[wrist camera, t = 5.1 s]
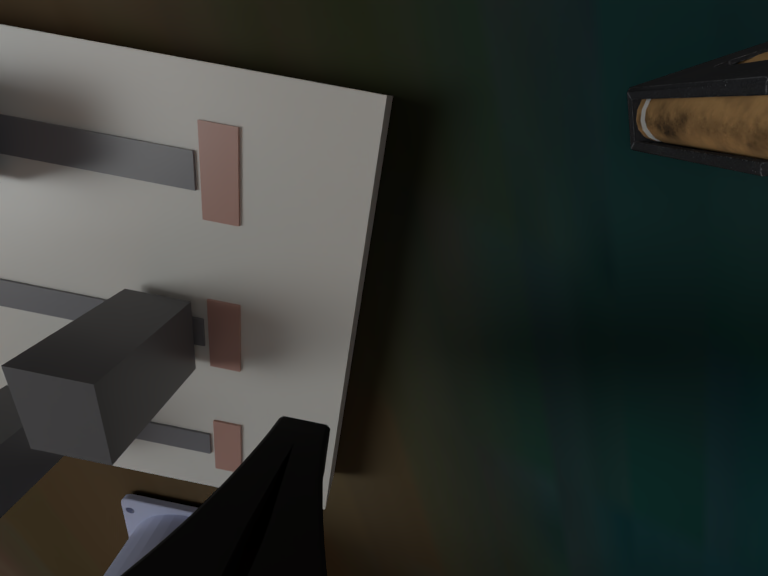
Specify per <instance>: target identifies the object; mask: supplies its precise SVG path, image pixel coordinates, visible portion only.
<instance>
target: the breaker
mask: <svg viewBox="0 0 768 576" xmlns="http://www.w3.org/2000/svg"><path fill="white" fill-rule="evenodd" d="M63 456H64V455H59V454H55V453H50V452H45V451H40V450H35V449H31V447H30V445H29V442H28V439H27V436H26V434H25V431H24V428H23V425H22V423H21V420H20V417H19V414H18V411H17V409H16V406H15V403H14V400H13V398H12V395H11V392H10V389H9V387H8V385H6V386H4V387H3V388H1V389H0V518H1V517H2V516H3V515H4V514H5V513H6V512H7V511H8V510H9V509H10V508H11V507H12V506H13V505H14V504H15V503H16V502H17V501H18V500H19V499H20V498H21V497H22V496H23V495H24V494H25V493H26V492H27V491H28V490H29V489H30V488H31V487H33V486H34V485H35V484H36V483H37V482H38V481H39V480H40V479H41V478H42V477H43V476H44V475H45V474H46V473H47V472H48V471H49V470H50V469H51V468H52V467H53V466H54V465H55V464H56V463H57V462H58V461H59V460H60V459H61V458H62V457H63Z"/></svg>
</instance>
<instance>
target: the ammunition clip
mask: <svg viewBox="0 0 768 576" xmlns="http://www.w3.org/2000/svg"><path fill="white" fill-rule="evenodd" d="M627 97H628V111H629V126H630V141H631V149H632V150H635V151H640V152H645V153H650V154H655V155H660V156H665V157H670V158H675V159H680V160H685V161H690V162H695V163H700V164H705V165H710V166H715V167H720V168H725V169H730V170H735V171H740V172H745V173H749V174H754V175H759V176H768V42H765V43H762V44H759V45H756V46H753V47H750V48H747V49H744V50H741V51H738V52H735V53H732V54H729V55H726V56H723V57H720V58H717V59H714V60H711V61H708V62H705V63H702V64H699V65H696V66H693V67H690V68H687V69H684V70H681V71H678V72H675V73H672V74H669V75H666V76H663V77H660V78H657V79H654V80H651V81H648V82H645V83H642V84H639V85H636V86H633V87H630V88H629V90H628V92H627Z"/></svg>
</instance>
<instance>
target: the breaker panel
mask: <svg viewBox="0 0 768 576" xmlns="http://www.w3.org/2000/svg"><path fill="white" fill-rule="evenodd" d="M392 100H393V96H390V95H385V94H379V93H374V92H368V91H363V90H357V89H352V88H347V87H341V86H336V85H330V84H325V83H319V82H314V81H309V80H303V79H298V78H292V77H287V76H281V75H276V74H270V73H265V72H260V71H254V70H249V69H243V68H238V67H232V66H227V65H222V64H216V63H211V62H205V61H200V60H194V59H189V58H184V57H178V56H173V55H167V54H162V53H156V52H151V51H145V50H140V49H135V48H129V47H124V46H118V45H113V44H107V43H102V42H97V41H91V40H86V39H80V38H75V37H69V36H64V35H59V34H53V33H48V32H42V31H37V30H31V29H26V28H21V27H15V26H10V25H4V24H0V389H1V388H3V387H4V386H6V385H8V384H7V381H6V378H5V375H4V373H3V370H2V367H1V365H3V364H5V363H6V362H8V361H9V360H11V359H13V358H14V357H16V356H17V355H19V354H21V353H22V352H24V351H25V350H27V349H29V348H30V347H32V346H33V345H35V344H37V343H38V342H40V341H41V340H43V339H45V338H46V337H48V336H49V335H51V334H53V333H54V332H56V331H58V330H59V329H61V328H62V327H64V326H66V325H67V324H69V323H70V322H72V321H74V320H75V319H77V318H78V317H80V316H82V315H83V314H85V313H86V312H88V311H90V310H91V309H93V308H94V307H96V306H98V305H99V304H101V303H102V302H104V301H106V300H107V299H109V298H110V297H112V296H114V295H115V294H117V293H118V292H120V291H122V290H123V289H129V290H134V291H139V292H145V293H150V294H155V295H160V296H165V297H170V298H175V299H180V300H185V301H190V302H191V310H192V323H193V337H194V351H195V364H196V369H195V370H194V371H193V373H192V374H191V375H190V376H189V377H188V378H187V379H186V381H185V382H184V383H183V384H182V385H181V386H180V388H179V389H178V390H177V391H176V392H175V393H174V395H173V396H172V397H171V398H170V399H169V400H168V401H167V403H166V404H165V405H164V406H163V407H162V408H161V410H160V411H159V412H158V413H157V414H156V415H155V417H154V418H153V419H152V420H151V421H150V422H149V423H148V425H147V426H146V427H145V428H144V429H143V430H142V432H141V433H140V434H139V435H138V436H137V437H136V439H135V440H134V441H133V442H132V443H131V444H130V445H129V447H128V448H127V449H126V450H125V451H124V452H123V454H122V455H121V456H120V457H119V458H118V459H117V461H116V462H115V463H114V464H113V466H118V467H123V468H127V469H132V470H137V471H142V472H147V473H152V474H156V475H161V476H166V477H171V478H176V479H181V480H185V481H190V482H195V483H200V484H205V485H210V486H214V487H220V486H221V485H222V484H223V483H224V482H225V481H226V480H227V479H228V478H229V477H230V475H231V474H232V473H233V472H234V471H235V470H236V469H237V468H238V467H239V466H240V465H241V464H242V462H243V461H244V460H245V459H246V458H247V457H248V456H249V455H250V454H251V452H252V451H253V450H254V449H255V448H256V447H257V446H258V444H259V443H260V442H261V441H262V440H263V438H264V437H265V436H266V435H267V433H268V432H269V431H270V430H271V428H272V427H273V426H274V424H275V423H276V422H277V420H278V419H279V418H280V417H282V416H286V417H291V418H296V419H301V420H306V421H311V422H316V423H321V424H326V425H328V427H329V428H330V435H329V442H328V450H327V457H326V464H325V471H324V476H323V509H325V508H326V504H327V500H328V496H329V492H330V488H331V484H332V480H333V476H334V471H335V465H336V458H337V452H338V446H339V439H340V433H341V426H342V420H343V414H344V407H345V401H346V394H347V388H348V382H349V375H350V369H351V362H352V356H353V349H354V343H355V337H356V330H357V324H358V317H359V311H360V305H361V298H362V292H363V285H364V279H365V273H366V266H367V260H368V253H369V247H370V241H371V234H372V228H373V221H374V215H375V209H376V202H377V196H378V189H379V183H380V177H381V170H382V164H383V157H384V151H385V145H386V138H387V132H388V125H389V119H390V112H391V106H392Z"/></svg>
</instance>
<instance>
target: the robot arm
mask: <svg viewBox="0 0 768 576" xmlns="http://www.w3.org/2000/svg"><path fill="white" fill-rule="evenodd" d="M329 435H330V428H329V427H328V425H326V424H321V423H316V422H311V421H306V420H301V419H296V418H291V417H286V416H282V417H280V418H279V419H278V420H277V422H276V423H275V424H274V426H273V427H272V428H271V430H270V431H269V432H268V433H267V435H266V436H265V437H264V438H263V440H262V441H261V442H260V443H259V444H258V446H257V447H256V448H255V449H254V450H253V451H252V452H251V454H250V455H249V456H248V457H247V458H246V459H245V460H244V461H243V462H242V464H241V465H240V466H239V467H238V468H237V469H236V470H235V471H234V472H233V473H232V474H231V475H230V477H229V478H228V479H227V480H226V481H225V482H224V483H223V484H222V485H221V486H220V487H219V488H218V489H217V490H216V491H215V492H214V493H213V494H212V495H211V496H210V497H209V498H208V499H207V500H206V501H205V502H204V503H203V504H202V505H201V506H200V507H199V508H198V507H193V506H188V505H183V504H178V503H174V502H169V501H164V500H159V499H154V498H150V497H145V496H140V495H135V494H127V495H125V497H124V498H123V499H122V500H121V504H122V509H123V513H124V517H125V522H126V526H127V530H128V535H129V539H128V541H127V542H126V543H125V545H124V546H123V548H122V549H121V551H120V552H119V554H118V555H117V557H116V558H115V560H114V561H113V563H112V564H111V565H110V567H109V568H108V570H107V571H106V573H105V574H104V576H327V571H326V560H325V547H324V530H323V476H324V471H325V464H326V457H327V450H328V442H329Z"/></svg>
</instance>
